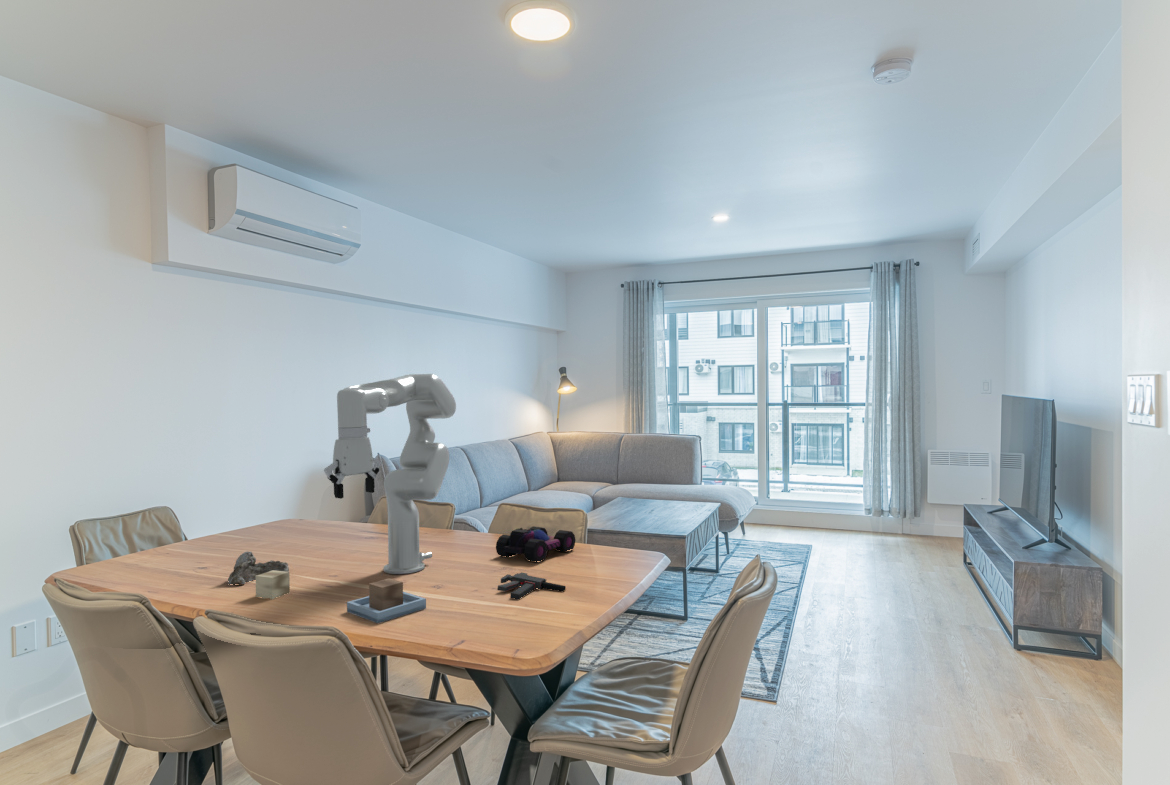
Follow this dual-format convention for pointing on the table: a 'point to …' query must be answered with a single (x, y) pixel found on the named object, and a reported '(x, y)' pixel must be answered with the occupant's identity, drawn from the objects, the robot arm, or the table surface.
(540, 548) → the toy car
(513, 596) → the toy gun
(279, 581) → the oak cube
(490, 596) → the table surface
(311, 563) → the table surface
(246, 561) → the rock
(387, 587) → the walnut cube
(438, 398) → the robot arm
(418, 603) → the tray
